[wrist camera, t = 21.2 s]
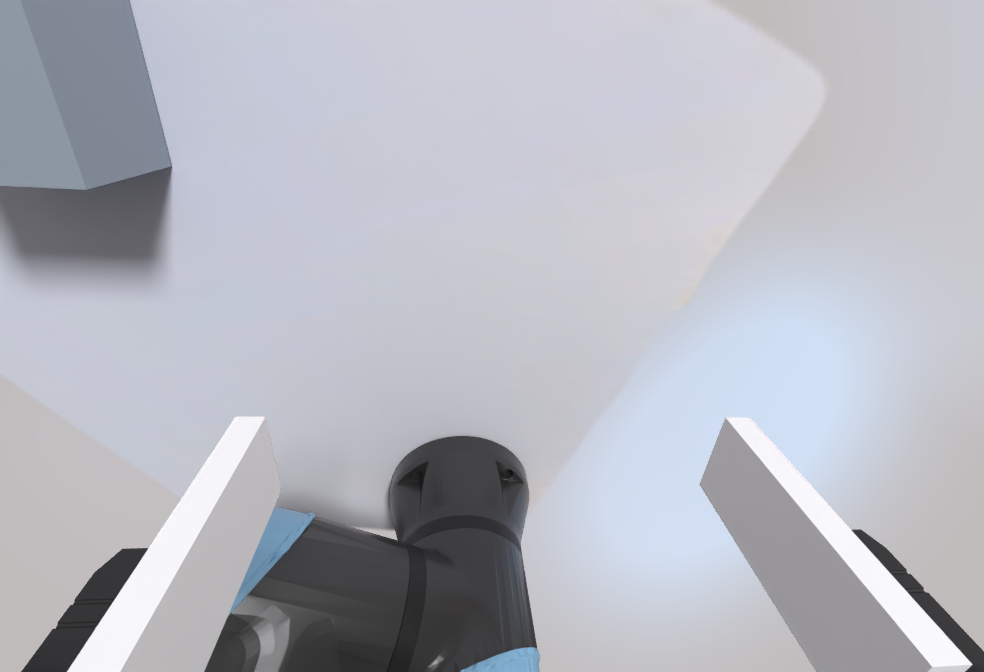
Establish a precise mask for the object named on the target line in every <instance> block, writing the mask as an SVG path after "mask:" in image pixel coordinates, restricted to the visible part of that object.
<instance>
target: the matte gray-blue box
mask: <svg viewBox="0 0 984 672" xmlns="http://www.w3.org/2000/svg"><path fill="white" fill-rule="evenodd" d="M171 166H172V164H171V160H170V157H169V153H168V149H167V145H166V141H165V137H164V133H163V129H162V126H161V122H160V118H159V114H158V110H157V106H156V102H155V98H154V94H153V91H152V87H151V83H150V79H149V75H148V71H147V67H146V63H145V60H144V56H143V52H142V48H141V44H140V40H139V36H138V32H137V29H136V25H135V21H134V17H133V13H132V9H131V5H130V1H129V0H0V186H14V187H36V188H57V189H78V190H88V189H92V188H96V187H99V186H103V185H106V184H110V183H114V182H117V181H121V180H124V179H128V178H132V177H135V176H139V175H142V174H146V173H150V172H153V171H157V170H160V169H164V168H168V167H171Z"/></svg>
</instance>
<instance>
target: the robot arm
mask: <svg viewBox="0 0 984 672" xmlns="http://www.w3.org/2000/svg"><path fill="white" fill-rule="evenodd" d="M700 486H701V488H702V489H703V491H704V492H705V494H706V496H707V497H708V499H709V500H710V502H711V504H712V505H713V507H714V508H715V510H716V512H717V513H718V515H719V516H720V518H721V520H722V521H723V523H724V525H725V526H726V528H727V529H728V531H729V533H730V534H731V536H732V537H733V539H734V541H735V542H736V544H737V545H738V547H739V549H740V550H741V552H742V553H743V555H744V557H745V558H746V560H747V561H748V563H749V565H750V566H751V568H752V569H753V571H754V573H755V574H756V576H757V577H758V579H759V580H760V582H761V584H762V586H763V587H764V589H765V590H766V592H767V594H768V595H769V597H770V598H771V600H772V602H773V603H774V605H775V606H776V608H777V609H778V611H779V613H780V614H781V616H782V618H783V619H784V621H785V622H786V624H787V625H788V627H789V629H790V630H791V632H792V634H793V635H794V637H795V638H796V640H797V642H798V643H799V645H800V646H801V648H802V649H803V651H804V653H805V654H806V656H807V658H808V659H809V661H810V662H811V664H812V666H813V667H814V669H815V670H816V672H984V652H983V650H982V649H981V648H980V647H979V646H978V645H977V644H976V643H975V642H974V641H973V640H972V639H971V638H970V637H969V635H967V633H966V632H964V630H963V629H962V628H961V627H960V626H959V625H958V624H957V623H956V622H955V621H954V620H953V619H952V618H951V616H950V615H949V614H948V613H947V612H946V611H945V610H944V609H943V608H942V607H941V606H940V605H939V604H938V603H937V602H936V601H935V599H934V598H933V597H932V596H930V594H929V593H926V592H924V590H923V589H924V588H923V587H922V586H921V585H920V584H919V582H917V580H916V579H915V578H914V577H913V576H912V575H911V574H908V573H907V572H906V569H905V568H904V567H903V565H902V564H900V562H899V561H898V560H897V559H896V558H895V557H894V556H893V555H892V554H891V553H890V552H889V551H888V550H887V549H886V548H885V547H884V546H882V545H881V544H880V543H878V542H877V541H876V540H874V539H873V538H872V537H870V536H869V535H867V534H866V533H865V532H863V531H862V530H851V529H850V528H849V527H848V526H847V525H846V524H845V523H844V522H843V520H841V518H840V517H839V516H838V515H837V514H836V513H835V512H834V511H833V509H832V508H831V507H830V506H829V505H828V504H827V503H826V502H825V501H824V499H823V498H822V497H821V496H820V495H819V494H818V493H817V492H816V491H815V489H814V488H813V487H812V486H811V485H810V484H809V483H808V482H807V481H806V480H805V478H804V477H803V476H802V475H801V474H800V473H799V472H798V471H797V469H796V468H795V467H794V466H793V465H792V464H791V463H790V462H789V461H788V460H787V458H786V457H785V456H784V455H783V454H782V453H781V452H780V451H779V450H778V448H777V447H776V446H775V445H774V444H773V443H772V442H771V441H770V440H769V438H767V436H766V435H765V434H764V433H763V432H762V431H761V430H760V428H759V427H757V425H756V424H755V423H754V422H753V421H752V420H751V419H750V418H725V421H724V423H723V426H722V428H721V431H720V433H719V436H718V438H717V441H716V443H715V446H714V448H713V451H712V454H711V456H710V459H709V461H708V464H707V466H706V469H705V472H704V474H703V477H702V479H701V482H700ZM280 492H281V485H280V481H279V476H278V471H277V467H276V462H275V458H274V453H273V449H272V444H271V440H270V435H269V431H268V426H267V421H266V417H235V418H234V420H233V421H232V423H231V424H230V426H229V427H228V429H227V430H226V432H225V433H224V435H223V437H222V438H221V440H220V441H219V443H218V444H217V446H216V447H215V449H214V450H213V452H212V453H211V455H210V456H209V458H208V459H207V461H206V462H205V464H204V465H203V467H202V468H201V470H200V471H199V473H198V474H197V476H196V477H195V479H194V480H193V482H192V483H191V485H190V486H189V488H188V489H187V491H186V493H185V494H184V496H183V497H182V499H181V500H180V502H179V503H178V505H177V506H176V508H175V509H174V511H173V512H172V514H171V515H170V517H169V518H168V520H167V521H166V523H165V524H164V526H163V528H162V529H161V530H160V532H159V533H158V535H157V536H156V538H155V539H154V541H153V542H152V544H151V545H150V547H149V548H143V549H142V548H141V549H140V548H139V549H122V550H121V551H120V552H118V553H117V554H116V555H115V556H114V557H112V558H111V559H110V560H109V561H108V562H107V563H105V564H104V565H103V566H102V567H101V568H99V569H98V570H97V571H96V572H95V573H94V574H93V575H92V577H91V578H90V580H89V581H88V582H87V584H86V585H85V586H84V588H83V589H82V591H81V592H80V593H79V594H78V596H77V597H76V599H75V602H74V604H73V605H70V607H69V608H68V609H67V611H66V612H65V613H64V615H63V616H62V617H61V619H60V620H59V621H58V625H57V627H56V629H53V630H52V631H51V632H50V634H49V635H48V636H47V638H46V639H45V640H44V642H43V643H42V645H41V646H40V647H39V649H38V650H37V651H36V653H35V654H34V655H33V657H32V658H31V659H30V661H29V662H28V664H27V665H26V666H25V668H24V669H23V670H22V672H539V661H540V654H539V652H538V650H537V645H536V639H535V633H534V626H533V620H532V614H531V608H530V603H529V596H528V589H527V583H526V577H525V571H524V565H523V558H522V553H521V544H520V543H521V538H522V533H523V528H524V523H525V518H526V514H527V509H528V504H529V489H528V483H527V478H526V473H525V470H524V468H523V466H522V464H521V462H520V461H519V460H518V458H517V457H516V456H515V455H514V454H513V453H512V452H510V451H509V450H508V449H506V448H505V447H503V446H501V445H499V444H497V443H495V442H493V441H490V440H486V439H483V438H478V437H469V436H455V437H447V438H442V439H438V440H434V441H431V442H429V443H426V444H424V445H422V446H420V447H418V448H416V449H415V450H413V451H412V452H411V453H409V454H408V455H407V456H406V457H405V458H404V459H403V460H402V461H401V462H400V464H399V465H398V467H397V468H396V470H395V472H394V475H393V478H392V483H391V490H390V497H389V504H390V511H391V515H392V519H393V523H394V527H395V531H396V535H397V539H398V541H397V540H394V539H390V538H387V537H383V536H380V535H376V534H373V533H369V532H366V531H363V530H359V529H356V528H352V527H349V526H345V525H342V524H338V523H335V522H332V521H328V520H325V519H321V518H318V517H314V516H315V515H316V513H313V512H308V513H307V514H305V513H301V512H297V511H293V510H288V509H284V508H280V507H276V506H275V504H276V502H277V500H278V497H279V495H280Z"/></svg>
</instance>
